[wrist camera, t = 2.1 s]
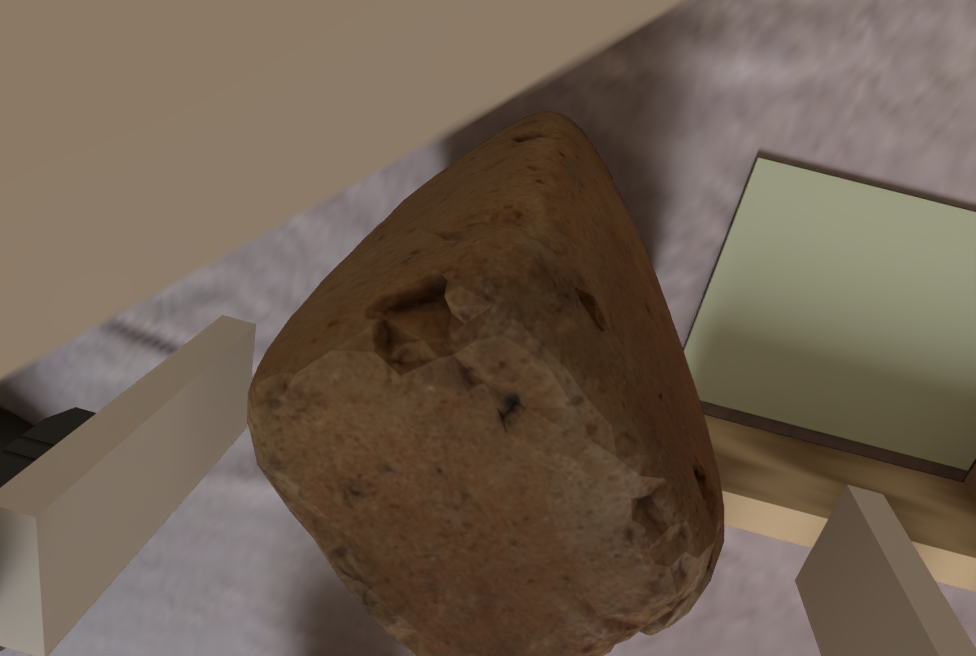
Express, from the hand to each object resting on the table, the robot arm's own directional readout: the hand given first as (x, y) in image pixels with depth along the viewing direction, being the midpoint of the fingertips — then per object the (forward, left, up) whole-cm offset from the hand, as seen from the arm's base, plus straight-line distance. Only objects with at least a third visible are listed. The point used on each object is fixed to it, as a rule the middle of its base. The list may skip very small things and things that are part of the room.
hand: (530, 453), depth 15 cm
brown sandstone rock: (0, 0, -17) cm, 17 cm away
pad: (+14, 0, -17) cm, 22 cm away
